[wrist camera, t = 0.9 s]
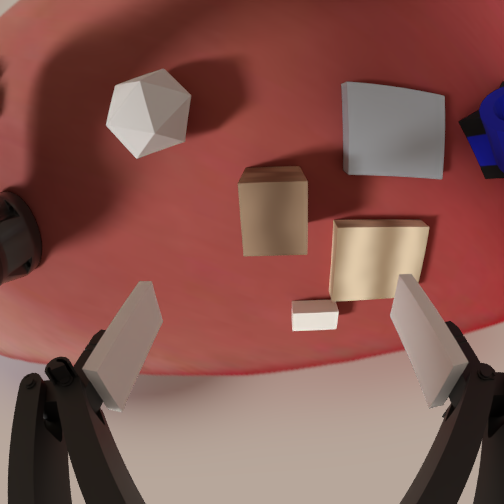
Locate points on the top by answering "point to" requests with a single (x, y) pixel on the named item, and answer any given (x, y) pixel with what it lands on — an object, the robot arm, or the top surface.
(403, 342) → the robot arm
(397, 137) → the grey slab
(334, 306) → the white brick
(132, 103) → the die
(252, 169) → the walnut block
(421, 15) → the top surface
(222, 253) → the top surface
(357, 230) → the oak slab
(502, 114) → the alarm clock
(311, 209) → the top surface
